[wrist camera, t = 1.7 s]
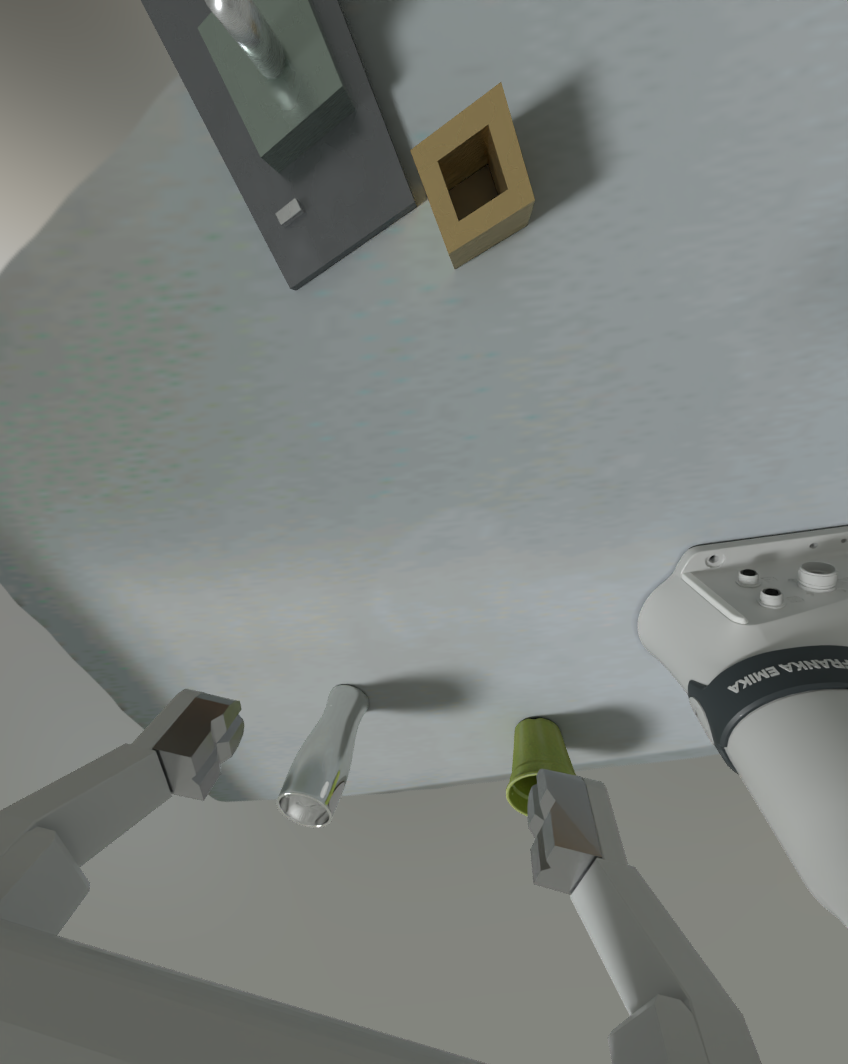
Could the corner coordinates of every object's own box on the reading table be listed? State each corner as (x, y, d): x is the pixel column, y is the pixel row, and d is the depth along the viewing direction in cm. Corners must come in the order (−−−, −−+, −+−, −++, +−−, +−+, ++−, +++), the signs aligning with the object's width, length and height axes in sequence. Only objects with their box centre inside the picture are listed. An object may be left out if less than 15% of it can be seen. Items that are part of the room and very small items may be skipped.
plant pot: (588, 727, 49) (606, 797, 41) (546, 762, 53) (556, 830, 46) (527, 697, 48) (535, 762, 41) (490, 735, 53) (491, 800, 45)
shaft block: (269, -179, 22) (151, -467, 14) (417, 206, 28) (390, 151, 21) (138, -15, 25) (-10, -173, 18) (295, 290, 32) (235, 270, 24)
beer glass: (376, 691, 52) (338, 805, 39) (366, 721, 56) (328, 836, 42) (330, 675, 53) (276, 784, 39) (323, 706, 56) (271, 816, 42)
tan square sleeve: (498, 129, 26) (501, 81, 21) (527, 225, 28) (535, 199, 23) (422, 183, 27) (410, 150, 23) (454, 269, 29) (448, 254, 25)
